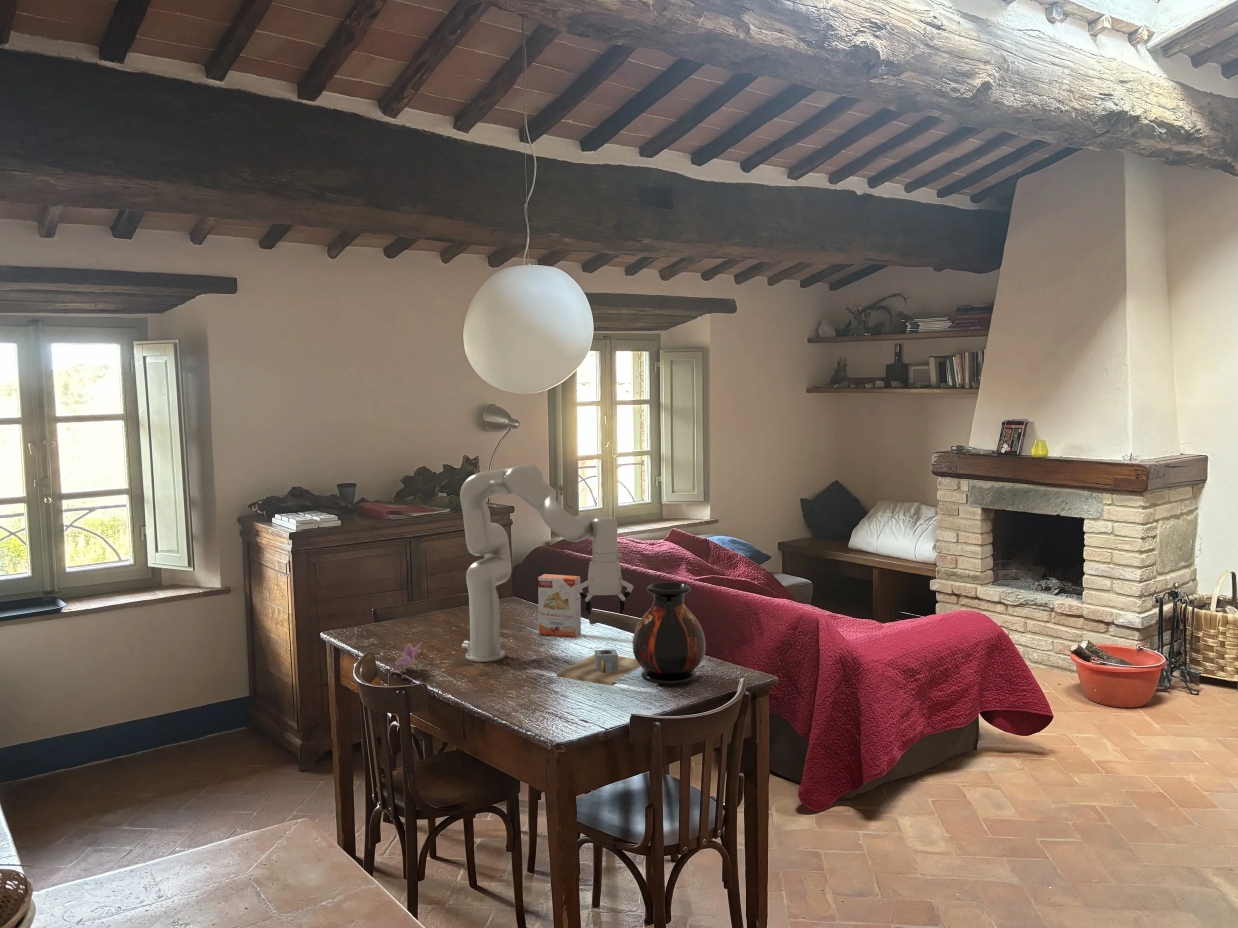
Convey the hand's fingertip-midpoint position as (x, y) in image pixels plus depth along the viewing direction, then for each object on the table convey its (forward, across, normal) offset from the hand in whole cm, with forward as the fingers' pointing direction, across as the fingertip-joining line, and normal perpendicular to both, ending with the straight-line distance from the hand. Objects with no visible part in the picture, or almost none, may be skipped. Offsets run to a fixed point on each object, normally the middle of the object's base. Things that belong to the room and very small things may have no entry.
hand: (604, 613), depth 282 cm
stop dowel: (+17, +1, +5) cm, 17 cm away
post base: (+18, 0, 0) cm, 18 cm away
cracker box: (+18, +12, -45) cm, 50 cm away
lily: (+19, +60, -6) cm, 63 cm away
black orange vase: (+18, -18, +11) cm, 28 cm away
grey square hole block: (+17, 0, +2) cm, 17 cm away
